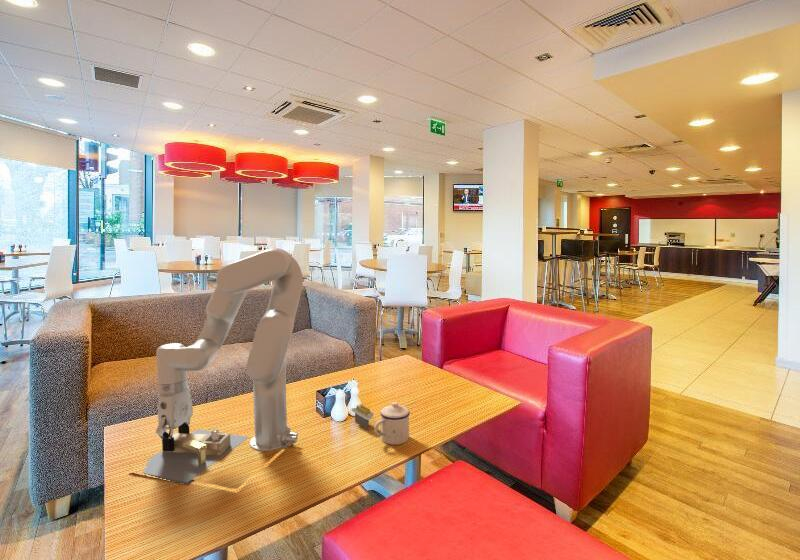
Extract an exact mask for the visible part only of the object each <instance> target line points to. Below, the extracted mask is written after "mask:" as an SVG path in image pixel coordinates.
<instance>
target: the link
mask: <svg viewBox="0 0 800 560" xmlns="http://www.w3.org/2000/svg"><path fill="white" fill-rule="evenodd" d="M230 434H231V433H225V432H220V433H219V442H212V435H211V433H210V434H191V433H190V434H186V433H177V432H175V433H174V432H173V436H172V437H174V445H175V450H174V451H173V452H181V453H197V451H195V450H192V449H190V448H187V447H184V446H183V443H184V442H186V441H188V440H190V439H192V440H195V441H198V442H201V443H203V444H206V445H207V448H206V449H205V455H222V453H223V452H224V451H225V450H226V449H227V448H228V447H229V446H230V445H231V442H230ZM161 449H162V450H161V451H163V442H162V441H161ZM163 452H171V451H163Z"/></svg>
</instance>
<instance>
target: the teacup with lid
mask: <svg viewBox="0 0 800 560" xmlns="http://www.w3.org/2000/svg"><path fill="white" fill-rule="evenodd" d="M410 413H411V412H410V410H409V408H407V407H406V406H404V405H400V404H399V403H398V402H397V401H393V402H392V403H391V404H390V405H387V406H384V407H383V408H382V409H381V410H380V417H381V418H380V419H379V420H377V421H376V422H375V424H374V427H373V429H374V433H375V435H377V436H378V437H381V440H382V442H384V443H385V444H388V445H392V446H396V445H397V446H398V445H403V444H405V443H407V442H408V440H409V438H410ZM380 425H381V427H380V428H381V431H380V432H379V431H378V427H379V426H380Z"/></svg>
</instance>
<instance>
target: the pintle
mask: <svg viewBox="0 0 800 560" xmlns="http://www.w3.org/2000/svg"><path fill="white" fill-rule="evenodd" d="M210 431H211V435H212V442H219V432H220V430H219V429H213V430H210Z"/></svg>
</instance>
